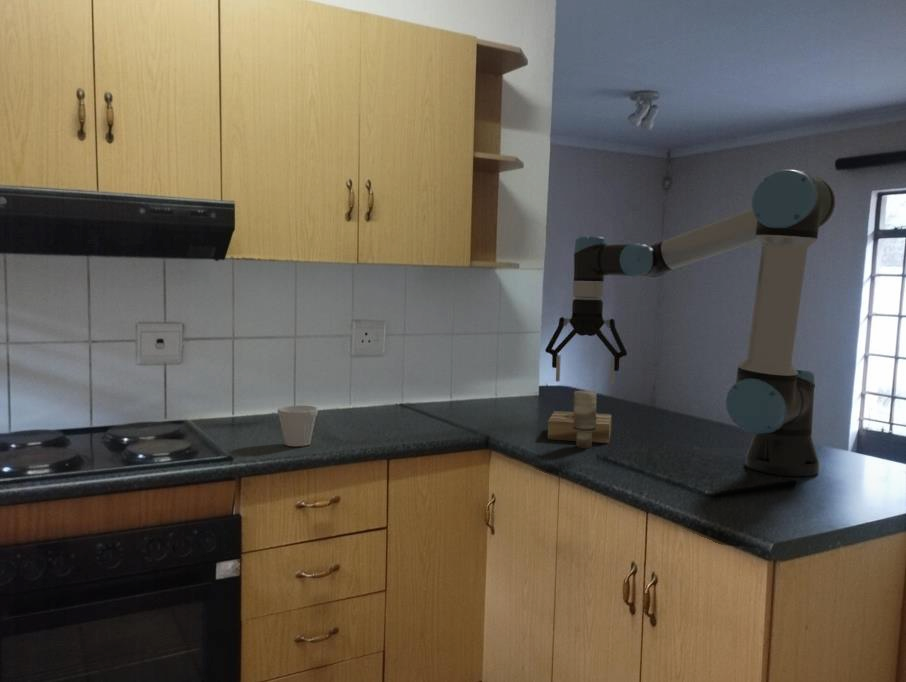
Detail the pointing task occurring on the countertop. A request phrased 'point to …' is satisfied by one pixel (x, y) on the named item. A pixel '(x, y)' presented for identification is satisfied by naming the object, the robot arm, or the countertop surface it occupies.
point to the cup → (297, 424)
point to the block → (563, 430)
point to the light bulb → (584, 417)
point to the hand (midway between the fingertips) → (584, 382)
